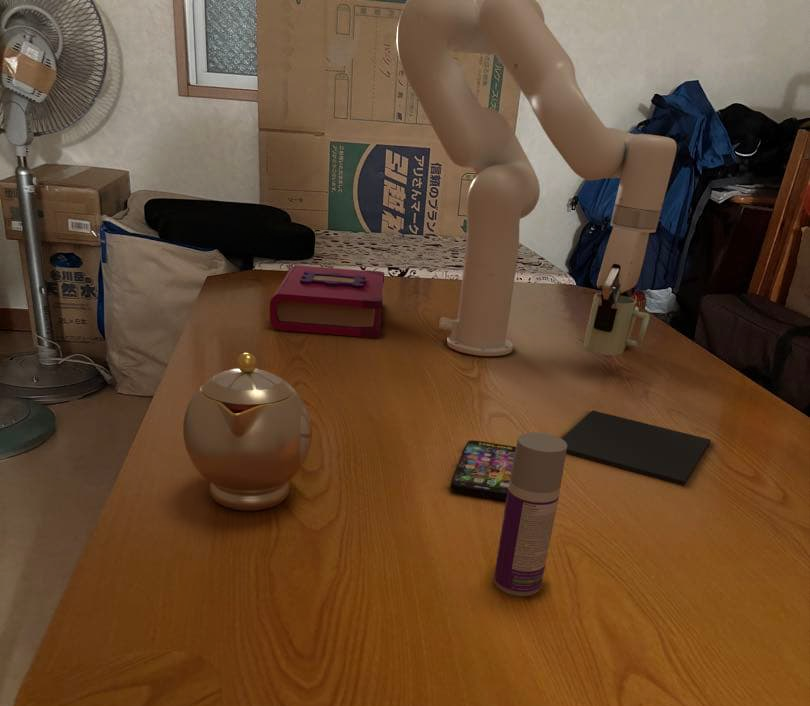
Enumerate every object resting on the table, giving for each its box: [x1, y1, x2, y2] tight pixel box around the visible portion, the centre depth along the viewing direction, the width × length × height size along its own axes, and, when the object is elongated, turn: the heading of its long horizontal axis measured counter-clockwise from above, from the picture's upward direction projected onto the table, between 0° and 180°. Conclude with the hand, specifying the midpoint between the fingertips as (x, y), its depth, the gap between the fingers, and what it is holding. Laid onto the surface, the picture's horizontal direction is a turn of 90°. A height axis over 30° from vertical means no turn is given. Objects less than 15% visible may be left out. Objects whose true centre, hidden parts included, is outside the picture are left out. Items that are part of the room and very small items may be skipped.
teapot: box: [182, 352, 313, 512], centre depth 85 cm, size 18×14×16 cm
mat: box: [561, 410, 712, 486], centre depth 110 cm, size 18×18×1 cm
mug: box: [582, 292, 651, 356], centre depth 136 cm, size 10×7×9 cm
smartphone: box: [450, 439, 516, 501], centre depth 98 cm, size 8×1×15 cm
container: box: [493, 431, 567, 597], centre depth 72 cm, size 5×5×15 cm
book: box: [269, 264, 385, 339], centre depth 158 cm, size 21×28×8 cm
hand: (609, 325), depth 137 cm, fingers closed on mug, 7 cm apart
